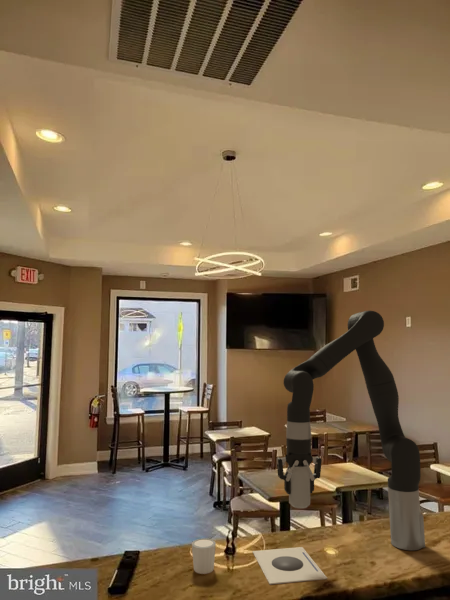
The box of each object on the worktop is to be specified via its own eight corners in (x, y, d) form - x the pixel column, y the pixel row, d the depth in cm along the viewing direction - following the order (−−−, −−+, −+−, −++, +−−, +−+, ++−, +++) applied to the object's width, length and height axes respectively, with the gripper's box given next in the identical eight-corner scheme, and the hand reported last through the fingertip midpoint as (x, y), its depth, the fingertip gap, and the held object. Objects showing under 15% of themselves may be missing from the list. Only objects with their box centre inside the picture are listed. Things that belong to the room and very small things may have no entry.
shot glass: (197, 577, 122) (197, 549, 123) (187, 566, 128) (187, 540, 129) (220, 571, 125) (219, 544, 126) (209, 561, 131) (209, 536, 132)
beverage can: (309, 502, 138) (309, 462, 139) (311, 509, 131) (310, 467, 133) (288, 501, 139) (288, 461, 140) (289, 508, 132) (288, 466, 134)
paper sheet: (302, 547, 140) (302, 546, 140) (327, 578, 120) (327, 577, 120) (252, 552, 137) (252, 550, 137) (269, 584, 118) (269, 582, 118)
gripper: (316, 433, 142) (317, 488, 140) (272, 434, 140) (273, 490, 138) (325, 438, 135) (326, 496, 133) (279, 438, 133) (279, 497, 131)
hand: (299, 492), depth 135 cm, fingers closed on beverage can, 6 cm apart
